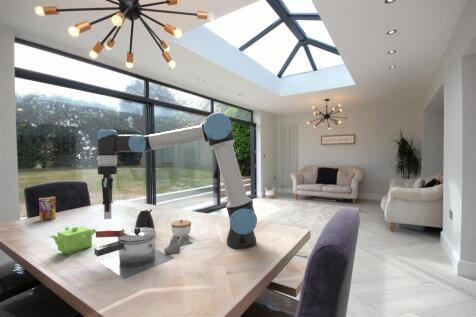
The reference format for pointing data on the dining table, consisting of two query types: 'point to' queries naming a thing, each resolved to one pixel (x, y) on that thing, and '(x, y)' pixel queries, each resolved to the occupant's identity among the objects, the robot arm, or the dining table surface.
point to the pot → (130, 252)
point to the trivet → (127, 272)
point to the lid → (127, 234)
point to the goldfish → (176, 244)
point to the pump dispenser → (145, 220)
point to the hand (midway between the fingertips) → (107, 218)
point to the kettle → (74, 239)
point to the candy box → (47, 208)
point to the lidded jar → (181, 228)
